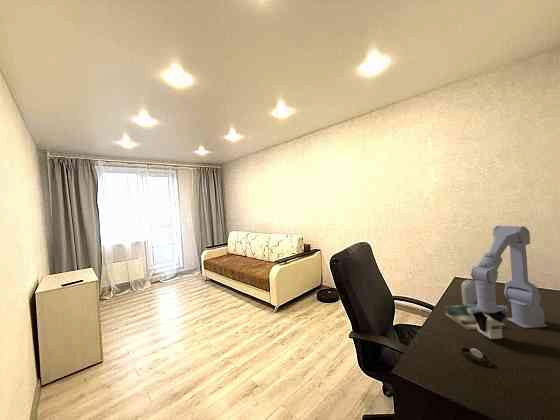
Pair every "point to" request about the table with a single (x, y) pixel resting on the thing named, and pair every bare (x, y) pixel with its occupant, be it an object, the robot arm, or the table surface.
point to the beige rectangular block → (492, 328)
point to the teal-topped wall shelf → (463, 316)
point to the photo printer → (468, 292)
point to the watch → (476, 354)
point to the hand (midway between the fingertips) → (489, 329)
